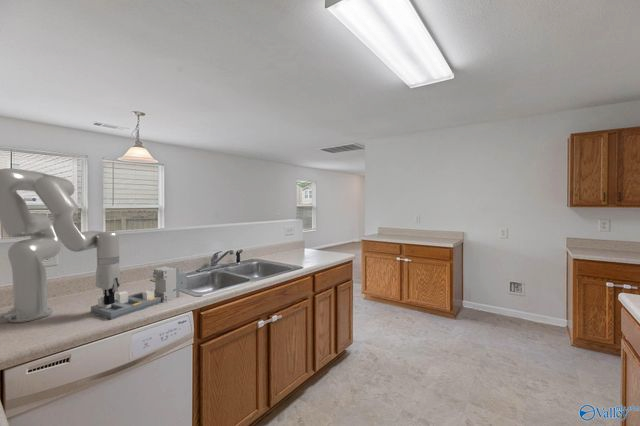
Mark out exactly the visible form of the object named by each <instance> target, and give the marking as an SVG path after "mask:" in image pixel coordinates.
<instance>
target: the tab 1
mask: <svg viewBox="0 0 640 426" xmlns="http://www.w3.org/2000/svg"><path fill="white" fill-rule="evenodd" d="M97 304H98V307H100V308H103V309H107V308H110V307H111V304H110V305H105V304H104V296H100V297H98V298H97Z"/></svg>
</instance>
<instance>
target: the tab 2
mask: <svg viewBox="0 0 640 426" xmlns="http://www.w3.org/2000/svg"><path fill="white" fill-rule="evenodd" d="M128 296H129V292H128V291H127V290H124V291H123V290H122V291H118V292H115V300H116V302H120V303H123V304H124V303H127V302H128Z"/></svg>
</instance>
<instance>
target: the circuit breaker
mask: <svg viewBox="0 0 640 426" xmlns="http://www.w3.org/2000/svg"><path fill="white" fill-rule="evenodd" d="M152 277H153V279H154V281H155V282H154V283H155V284H154V285H155V286H154V288H155V289H153V290H154V296H158V297H161V303H167V302H170V301H172V300H175V299H178V298H180V290H183V289H185V288H188V285H187V284H188V275H187V272H183V271H180V267H178V266H174V265H173V266H172V265H166V266H161V267H157V268H153V272H152Z"/></svg>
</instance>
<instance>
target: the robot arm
mask: <svg viewBox="0 0 640 426" xmlns="http://www.w3.org/2000/svg"><path fill="white" fill-rule="evenodd" d="M17 191H24V192H25V191H26V192H34V193H36V195H37V197H38V198H39V199H40V201H41V202H42V203H43V205H45V207H46V208H47V210H48V211H49V212H50V213H51V215H52V216H53V222H52V220H51V219H50V217H48V216H47V215H46V214H44V213H39V212H30V210H29V209H28V205H27V202H26V201H25V199H24V198H23V197H22V196H21V195H20V194H19V193H17ZM74 193H75V186H74V184H73V182H72V181H70V180H69V179H68V178H63V177H60V176H55V175H52V174H48V173H43V172H41V171H37V170H34V171H33V170H27V169H20V168H19V169H18V168H11V167H10V168H0V223H1V226H2V229H3V231H4V232H5V234H6V235H7V236H9V237H11V238H25V237H30V238H28V239H27V238H26V239H23V240H19V241H17V242H15V243H13V244H12V245H11V246H10V247H9V248H8V251H7V257H8V260H9V263H10V266H11V273H12V289H13V290H12V291H13V292H12V294H13V297H12V298H13V307H10V310H8V311H7V312H2V313H0V320H1V319H4V320H5V319H8V322H9V323H26V322H30V321H35V320H39V319H42V318H45V317H48V316H49V315H51V314H52V313H53V311H54V310H53V308H51V307H48V290H47V289H48V288H47V287H48V285H47V269H46V267H45V265H44V263H43V262H42V261H44V260H48V259H51V258H53V257H55V256H58V255H59V253H60V251H61V243H62V244H63V245H64V247H65V248H66V249H68V250H69V251H71V252H74V253H79V252H83V251H87V250H88V251H89V250H93V249H96V269H95V270H96V271H95V287H97V289H101V290H102V294H103V297H104V304H105V305H110V304H113V303H115V300H116V296H115V295H116V293H117V292H119V290H118V288H119V287H121V272H120V265H119V264H120V236H119V232H117V231H114V230H113V231H112V230H110V231H107V230H106V231H98V230H88V231H80V230H79V229H78V227H77V226H76V224H75V223H74V219H73V216H74V214H75V213H77V212H78V210H79V205H78V204H77V203H76V202H75V201H74V199H73V198H72V195H73V194H74Z"/></svg>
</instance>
